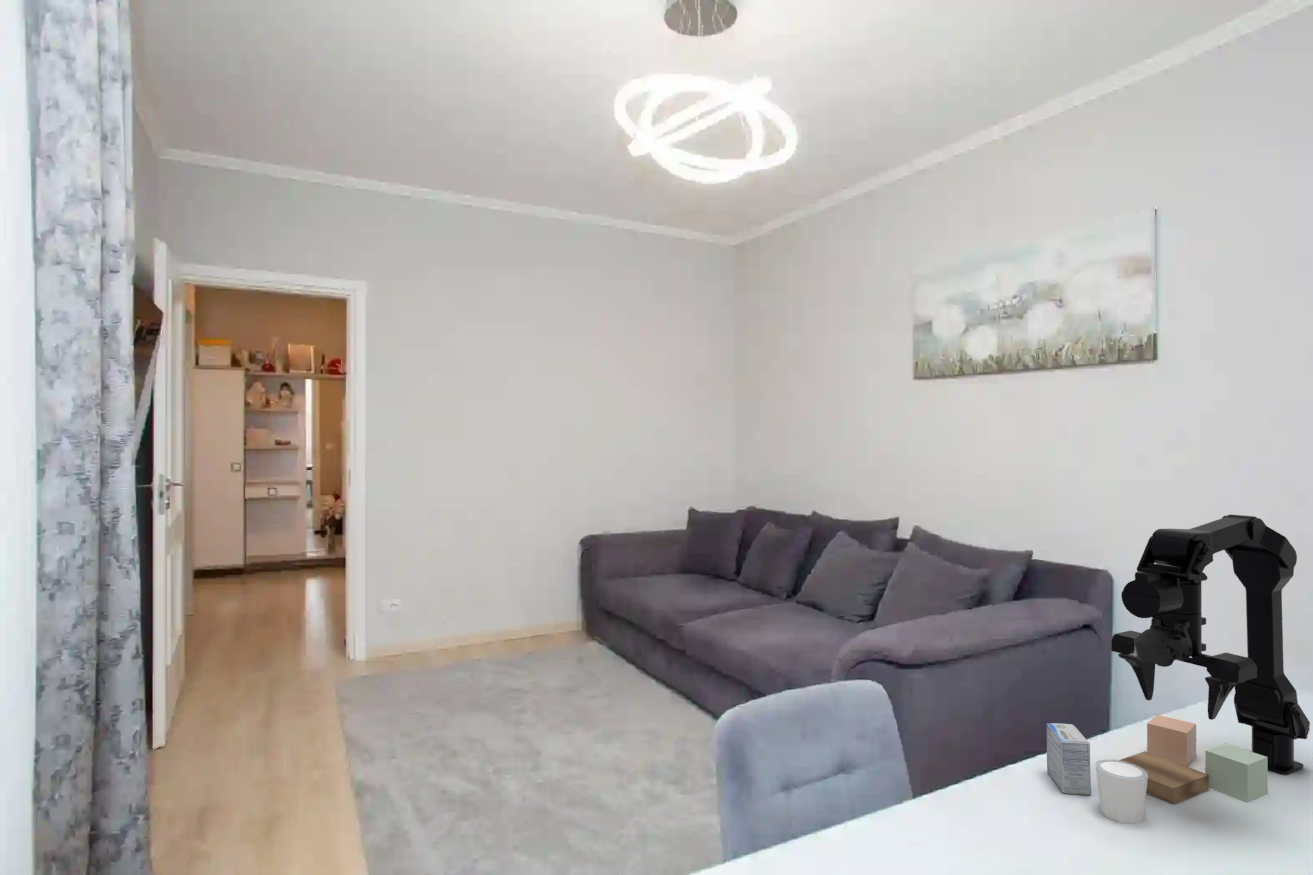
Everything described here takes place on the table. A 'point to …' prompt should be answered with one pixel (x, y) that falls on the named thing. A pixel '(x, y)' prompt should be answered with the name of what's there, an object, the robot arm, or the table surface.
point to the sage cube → (1237, 772)
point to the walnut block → (1169, 778)
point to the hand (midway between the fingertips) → (1179, 709)
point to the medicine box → (1068, 759)
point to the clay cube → (1172, 739)
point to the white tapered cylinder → (1121, 790)
